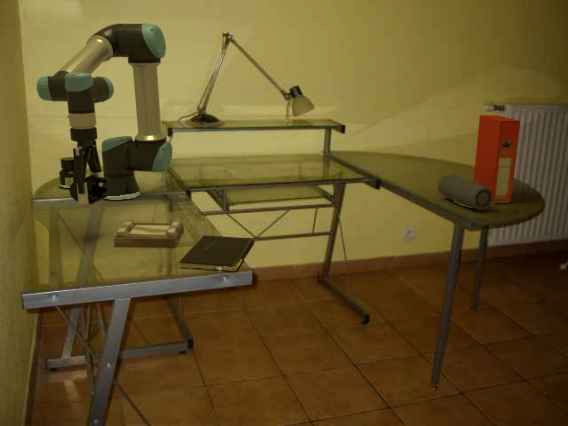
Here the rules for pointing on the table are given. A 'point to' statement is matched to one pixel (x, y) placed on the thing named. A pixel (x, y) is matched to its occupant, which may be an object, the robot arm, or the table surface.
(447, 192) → the bluetooth speaker
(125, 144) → the robot arm
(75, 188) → the black notched block
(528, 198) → the table surface
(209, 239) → the hardcover book
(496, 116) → the file binder
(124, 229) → the display riser
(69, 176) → the ink bottle
